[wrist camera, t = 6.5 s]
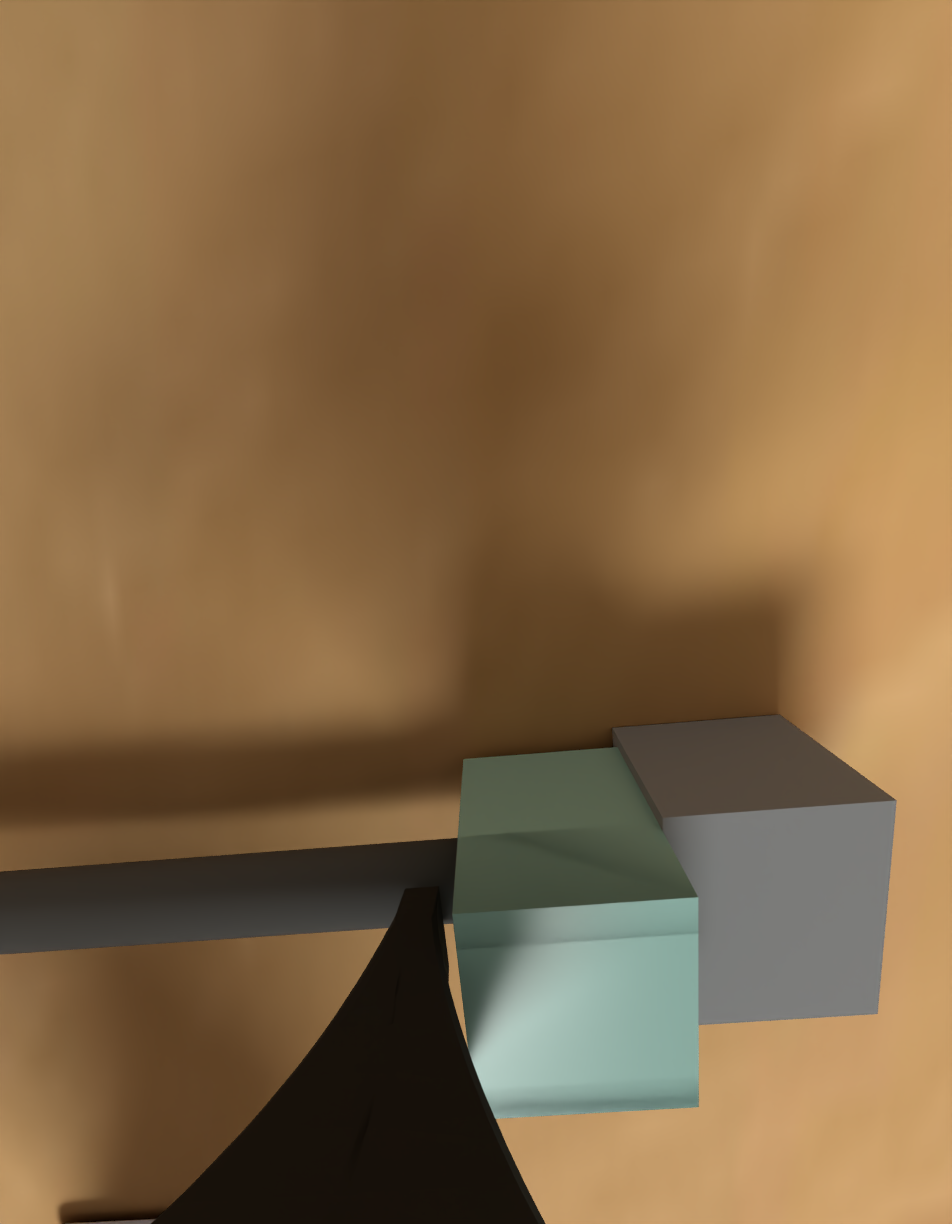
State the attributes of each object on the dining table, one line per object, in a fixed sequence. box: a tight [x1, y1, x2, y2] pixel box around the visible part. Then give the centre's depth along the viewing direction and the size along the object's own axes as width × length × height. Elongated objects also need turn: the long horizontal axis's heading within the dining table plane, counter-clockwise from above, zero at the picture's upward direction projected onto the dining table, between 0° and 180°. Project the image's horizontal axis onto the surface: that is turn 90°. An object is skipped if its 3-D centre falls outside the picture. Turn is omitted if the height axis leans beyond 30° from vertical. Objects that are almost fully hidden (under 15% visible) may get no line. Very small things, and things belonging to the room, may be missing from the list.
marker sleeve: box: [452, 747, 699, 1119], centre depth 12 cm, size 4×4×5 cm
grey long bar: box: [0, 715, 897, 1025], centre depth 13 cm, size 6×33×4 cm, turn 95°
